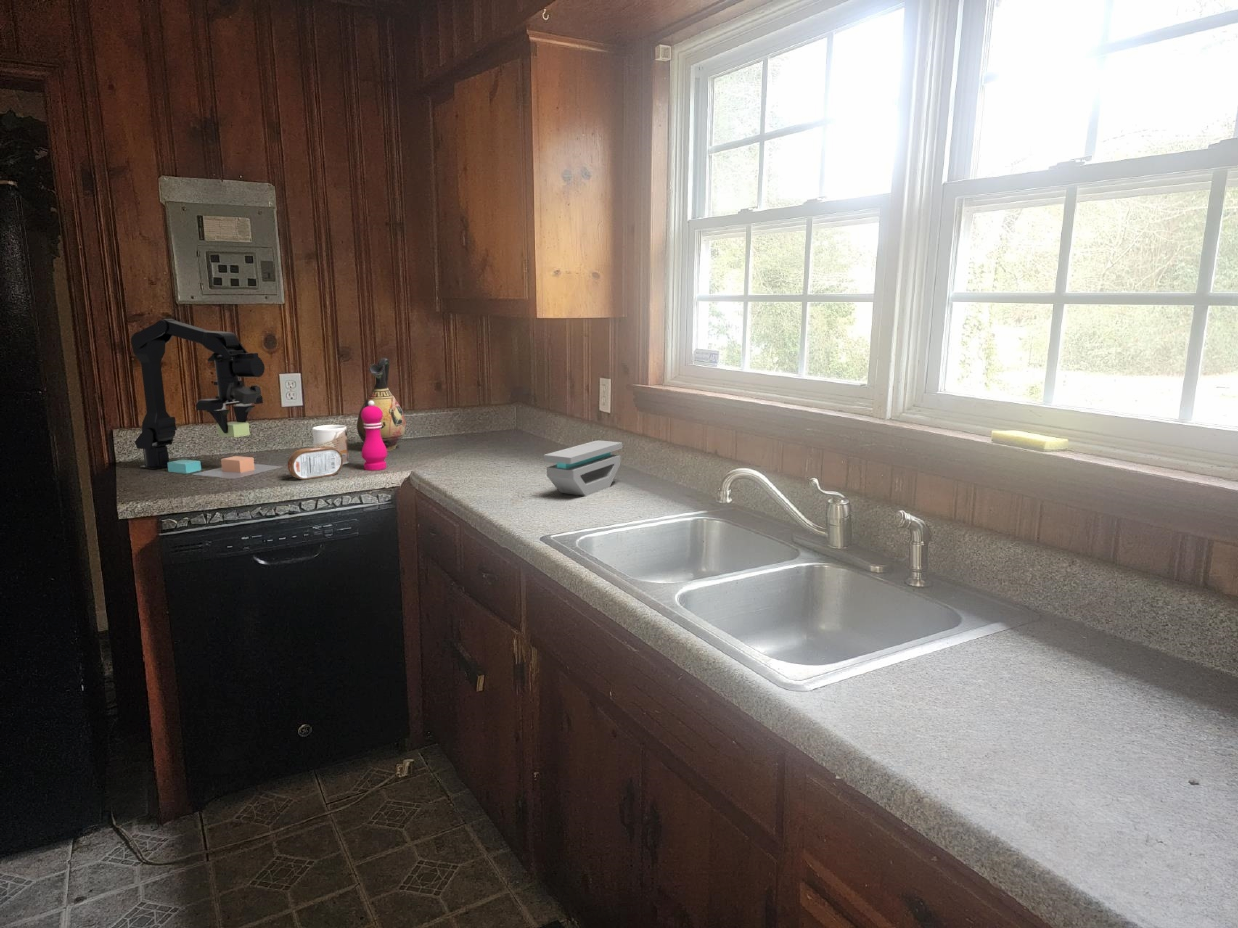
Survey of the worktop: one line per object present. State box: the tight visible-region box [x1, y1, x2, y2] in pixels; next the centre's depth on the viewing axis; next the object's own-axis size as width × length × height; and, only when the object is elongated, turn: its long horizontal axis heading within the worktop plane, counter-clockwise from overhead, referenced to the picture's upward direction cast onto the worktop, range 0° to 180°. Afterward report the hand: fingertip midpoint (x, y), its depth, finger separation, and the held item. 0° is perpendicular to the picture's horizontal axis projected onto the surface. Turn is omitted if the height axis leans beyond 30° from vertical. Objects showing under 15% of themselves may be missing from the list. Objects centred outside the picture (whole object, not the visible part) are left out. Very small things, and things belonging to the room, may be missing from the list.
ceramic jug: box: [356, 357, 407, 452], centre depth 266 cm, size 17×15×30 cm
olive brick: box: [216, 421, 251, 438], centre depth 231 cm, size 7×5×4 cm
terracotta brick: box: [220, 455, 255, 473], centre depth 231 cm, size 7×5×4 cm
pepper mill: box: [361, 401, 388, 471], centre depth 234 cm, size 7×7×20 cm
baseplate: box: [191, 463, 283, 480], centre depth 231 cm, size 16×18×1 cm
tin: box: [287, 446, 344, 481], centre depth 224 cm, size 15×3×8 cm, turn 134°
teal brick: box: [167, 459, 202, 474], centre depth 231 cm, size 7×5×4 cm
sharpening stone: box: [543, 439, 623, 497], centre depth 207 cm, size 25×8×11 cm, turn 150°
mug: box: [311, 424, 350, 465], centre depth 245 cm, size 10×12×11 cm
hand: (233, 431), depth 231 cm, fingers closed on olive brick, 5 cm apart
